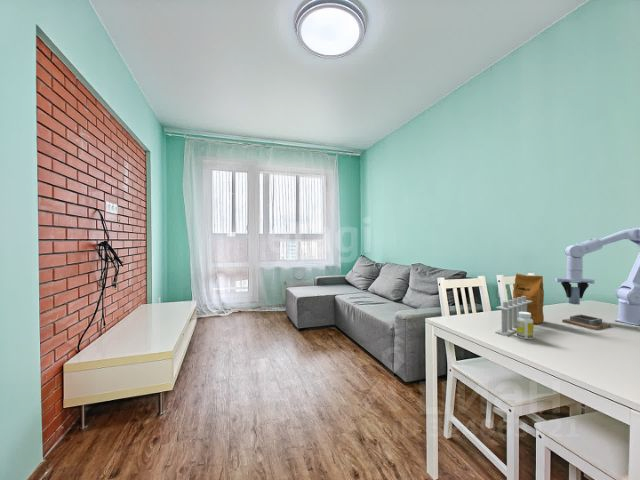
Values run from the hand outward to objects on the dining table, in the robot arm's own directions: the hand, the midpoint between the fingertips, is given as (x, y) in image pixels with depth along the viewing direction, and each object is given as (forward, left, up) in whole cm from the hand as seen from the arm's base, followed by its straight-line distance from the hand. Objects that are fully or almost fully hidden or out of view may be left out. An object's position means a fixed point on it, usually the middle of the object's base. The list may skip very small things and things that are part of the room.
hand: (574, 297), depth 137 cm
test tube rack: (+43, 0, -10) cm, 44 cm away
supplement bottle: (+49, +8, -10) cm, 51 cm away
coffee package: (+25, -6, -10) cm, 28 cm away
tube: (0, 0, -3) cm, 3 cm away
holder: (+7, +8, -10) cm, 15 cm away
